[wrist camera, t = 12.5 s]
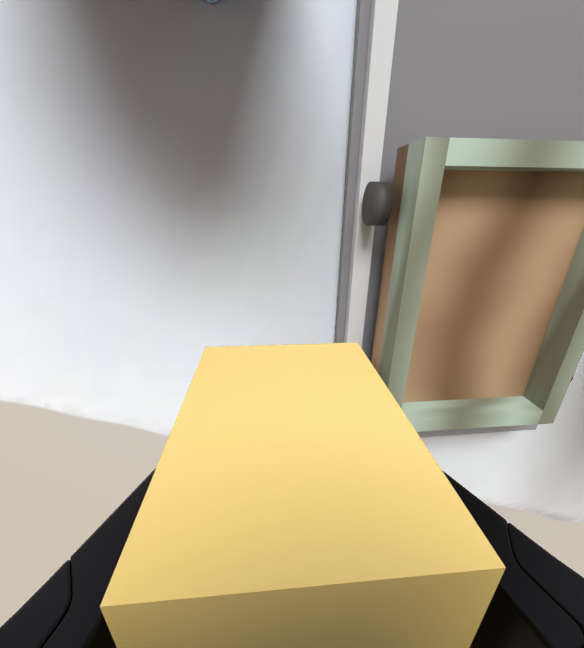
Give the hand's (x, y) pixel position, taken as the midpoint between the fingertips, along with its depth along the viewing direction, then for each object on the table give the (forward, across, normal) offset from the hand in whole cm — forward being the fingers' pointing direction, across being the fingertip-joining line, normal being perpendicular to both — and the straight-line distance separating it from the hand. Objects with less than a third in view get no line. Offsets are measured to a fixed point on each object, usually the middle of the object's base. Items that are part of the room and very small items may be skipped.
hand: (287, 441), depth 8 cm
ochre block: (+2, 0, 0) cm, 2 cm away
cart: (+10, -11, -1) cm, 15 cm away
